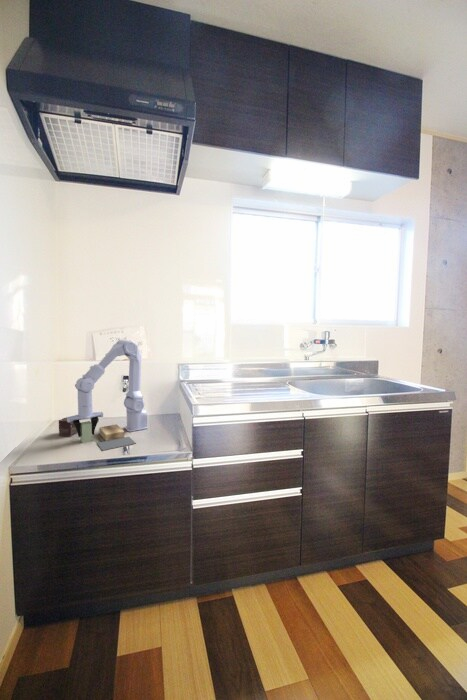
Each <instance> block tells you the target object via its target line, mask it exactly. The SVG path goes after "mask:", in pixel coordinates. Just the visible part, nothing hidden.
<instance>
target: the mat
mask: <svg viewBox="0 0 467 700" xmlns="http://www.w3.org/2000/svg"><path fill="white" fill-rule="evenodd" d="M96 444H97V446H98V447H99V448H100V450H101V451H102V452H103V451H107V450H108V451H109V450H112V449H118V448H123V447H128V446H133V445H136V444H137V442H136V441H135V440H134V439H132V438H131V437H130V436H126V437H125V436H124V438H119V439H114V440H109V441H105V440H104V441H100V442H96Z"/></svg>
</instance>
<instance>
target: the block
mask: <svg viewBox="0 0 467 700" xmlns="http://www.w3.org/2000/svg"><path fill="white" fill-rule="evenodd" d="M80 432H81V437H79V438H80V441H81V443H82V444H83V443H89V442H93V435H92V423H91V420H87V421H82V422H81V421H80Z"/></svg>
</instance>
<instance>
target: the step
mask: <svg viewBox="0 0 467 700" xmlns="http://www.w3.org/2000/svg"><path fill="white" fill-rule="evenodd" d="M98 428H99V432H98V433H99V434H100V437H102V438H103V440H104V441H109V440H114V439H119V438H125V430H124V429H123V428H121V427H120V426H119V425H118V424H111V425H105V426H99V427H98Z"/></svg>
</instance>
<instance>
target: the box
mask: <svg viewBox="0 0 467 700" xmlns="http://www.w3.org/2000/svg"><path fill="white" fill-rule="evenodd" d="M67 417H68V416H66V417H63V418H62V419H61V418H60V419H59V420H58V435H59V436H61V437H72V436H75V435H76V434H78V432H77V429H76V427H75V425H74V423H73V421H71V422H67Z"/></svg>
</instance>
